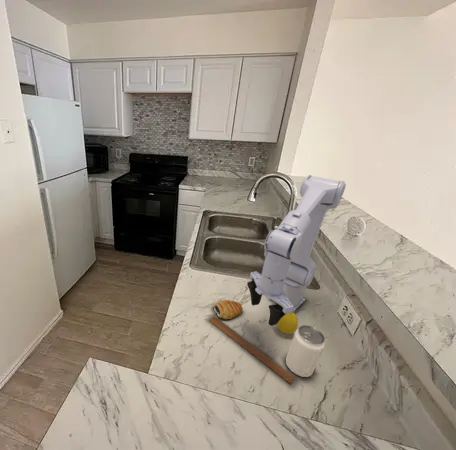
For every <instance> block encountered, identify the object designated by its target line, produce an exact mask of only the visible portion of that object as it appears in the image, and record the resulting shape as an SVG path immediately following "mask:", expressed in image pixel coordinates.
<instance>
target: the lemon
mask: <svg viewBox="0 0 456 450" xmlns="http://www.w3.org/2000/svg"><path fill="white" fill-rule="evenodd" d="M298 320H299V319H298V317H297V315H296V314H295V313H294V312H291V313H287V314H285V315H284V316H283V317H282V318H281V319H280V320H279V322H278V323H277V325H276V326H277V328H278V329H279V331H280V332H282V333H283V334H287V335H290V334H293V333H295V332H296V331H297V328H298V325H299V321H298Z"/></svg>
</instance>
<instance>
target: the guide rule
mask: <svg viewBox="0 0 456 450" xmlns="http://www.w3.org/2000/svg"><path fill="white" fill-rule="evenodd" d="M208 321H209V322H210V323H211V324H212V325H214V326H215V327H216V328H218V329H219V330H220V331H221V332H223V333H224V334H225V335H226V336H228V337H229V338H230V339H231V340H232V341H234V342H235V343H237V345H240V347H242V348H243V350H246V351H247V352H248V353H249V354H251V355H252V356H253V357H254V358H255V359H257V360H258V361H260V362H261V363H262V364H263V365H265V366H266V367H267V368H268V369H270V370H271V372H273V373H275V374H276V375H277V376H278V377H280V378H281V379H282V380H283V381H285V382H286V383H287V384H289V385H290V386H291V385H292V384H293V382H294V381H295V380H296V376H294V375H293V374H292V373H290V372H289V371H287V369H285V368H284V367H282V366H281V365H280V364H278V363H277V362H276V361H274V360H273V359H272V358H270V357H269V356H268V355H266V354H265V353H264V352H262V351H261V349H258V348H257V347H256V346H255V345H253V344H252V343H251V342H249V341H248V340H247V339H245V338H244V337H242V336H241V335H240V334H239V333H237V332H236V331H235V330H234V329H232V328H230V327H229V326H228V325H227V324H225V323H224V322H223V321H221V320H220V319H219V318H217V317H216V316H212V317H211V318H209V320H208Z"/></svg>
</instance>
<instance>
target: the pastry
mask: <svg viewBox="0 0 456 450" xmlns="http://www.w3.org/2000/svg"><path fill="white" fill-rule="evenodd" d="M212 307H213V310H214V312H215V313H216V315H217V317H218V318H220V319H222V320H228V319H229V320H232V319H233V318H236V317H238V316H240V315H241V314H242V312H243V306H242V304H241V303H240V302H238V301H234V300H230V299H228V300H227V299H223V300H222V299H219V300H218V301H216V302H214V303H213V305H212Z"/></svg>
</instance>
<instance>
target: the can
mask: <svg viewBox="0 0 456 450" xmlns="http://www.w3.org/2000/svg"><path fill="white" fill-rule="evenodd" d="M292 337H293V338H292V340H291V343H290V346H289V349H288V351H287V354H286V359H285V364H286V366H287V368H288V369H289V370H290V371H291V372H292V373H293V374H295V375H296V376H299V377H301V378H308V377H311V376H312V375H313V373H314V371H315V368H316V367H317V365H318V362H319V360H320V357H321V356H322V353H323V351H324V349H325V345H326V343H325V336H324V333H322V331H321V330H320V329H318V328H316V327H314V326H312V325H308V324H303V325H301V326H299V327H298V329H296V330H295V331H294V334H293V336H292Z"/></svg>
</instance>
